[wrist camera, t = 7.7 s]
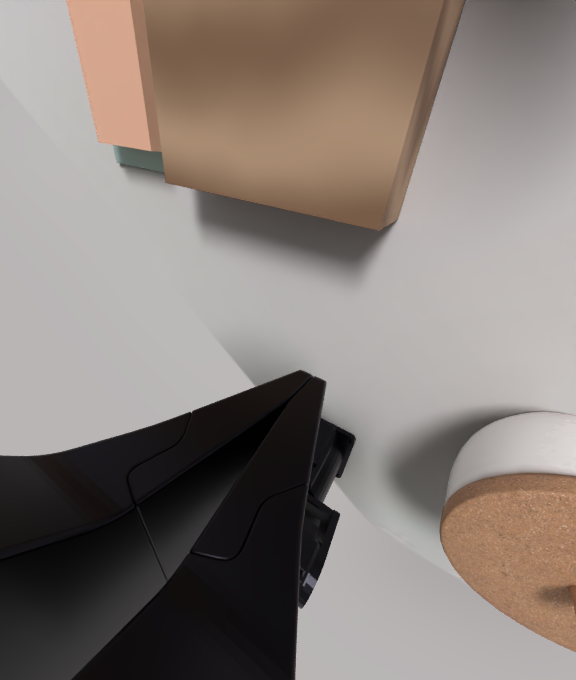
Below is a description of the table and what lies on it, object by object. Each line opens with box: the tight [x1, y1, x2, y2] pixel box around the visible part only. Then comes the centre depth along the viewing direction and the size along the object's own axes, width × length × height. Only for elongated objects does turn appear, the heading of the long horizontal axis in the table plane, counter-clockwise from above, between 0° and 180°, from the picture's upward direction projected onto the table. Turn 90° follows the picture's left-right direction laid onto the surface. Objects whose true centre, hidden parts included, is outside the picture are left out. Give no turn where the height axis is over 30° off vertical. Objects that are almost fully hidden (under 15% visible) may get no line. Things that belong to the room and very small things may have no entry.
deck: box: [143, 0, 465, 231], centre depth 13 cm, size 12×14×4 cm
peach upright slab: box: [66, 0, 162, 152], centre depth 19 cm, size 9×6×2 cm, turn 173°
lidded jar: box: [440, 412, 576, 652], centre depth 14 cm, size 11×11×9 cm
